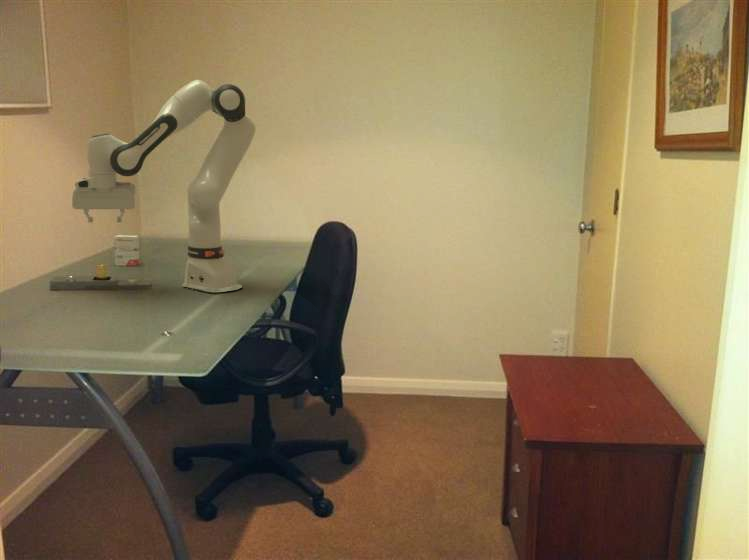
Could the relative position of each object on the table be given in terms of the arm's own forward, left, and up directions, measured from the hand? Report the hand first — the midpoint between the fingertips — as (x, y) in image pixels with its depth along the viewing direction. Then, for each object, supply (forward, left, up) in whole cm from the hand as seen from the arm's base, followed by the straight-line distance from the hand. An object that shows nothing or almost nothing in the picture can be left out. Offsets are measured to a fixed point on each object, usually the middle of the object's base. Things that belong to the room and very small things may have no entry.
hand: (105, 222), depth 241 cm
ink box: (+26, -23, -23) cm, 42 cm away
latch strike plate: (-2, +3, -22) cm, 23 cm away
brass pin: (-2, +3, -22) cm, 23 cm away
